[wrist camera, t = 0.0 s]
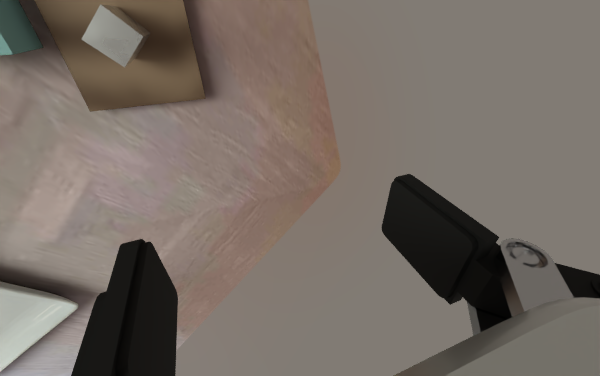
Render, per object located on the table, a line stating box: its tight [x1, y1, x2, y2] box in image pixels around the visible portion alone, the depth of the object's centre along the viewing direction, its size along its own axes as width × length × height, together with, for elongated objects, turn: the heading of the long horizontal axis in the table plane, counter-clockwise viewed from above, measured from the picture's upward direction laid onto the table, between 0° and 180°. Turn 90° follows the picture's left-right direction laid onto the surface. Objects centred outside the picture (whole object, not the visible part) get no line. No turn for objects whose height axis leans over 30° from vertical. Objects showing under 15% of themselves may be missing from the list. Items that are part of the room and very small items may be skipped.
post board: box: [34, 0, 206, 111], centre depth 25 cm, size 15×13×8 cm
